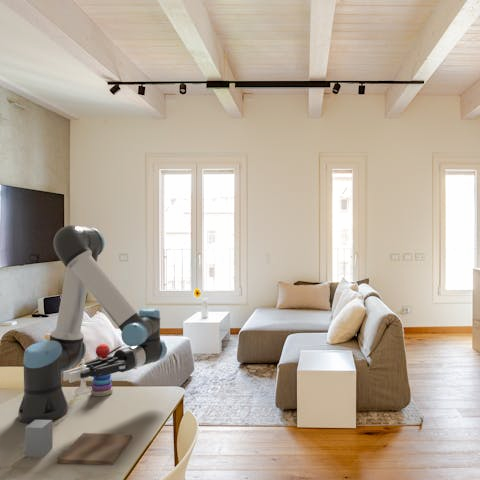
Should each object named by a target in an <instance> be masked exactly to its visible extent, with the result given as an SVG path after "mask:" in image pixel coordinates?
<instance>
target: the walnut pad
mask: <svg viewBox="0 0 480 480" xmlns="http://www.w3.org/2000/svg"><path fill="white" fill-rule="evenodd" d="M132 439H133V434H127V433H125V434H124V433H122V434H121V433H95V432H94V433H91V432H84V433H82V434H81V435H80V436H79V437H78V438H77V439H76V440H75V441H74V442H73V443H72V444H70V446H69V447H68V448H67V449H66V450H64V452H63V453H62V454H61V455H60V456H59V457H58V458H57V464H77V463H84V464H83V465H106V466H107V465H109V466H110V465H111V466H113V465H114V464H115V463H116V462H117V460H118V458H119V457H120V456H121V455H122V453H123V451H124V450H125V449H126V447H127V446H128V444H129V443H130V442H131V440H132Z"/></svg>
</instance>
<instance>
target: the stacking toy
mask: <svg viewBox="0 0 480 480" xmlns="http://www.w3.org/2000/svg"><path fill="white" fill-rule="evenodd" d="M95 354H96V356H97V357H96V358H95V359H97V358H98V357H102V359H104V358H107V357H109V356H108V355H109V354H110V347H109V346H108V345H107V344H105V343H104V344H103V343H102V344H99V345H98V346H97V347H96V349H95ZM111 376H112V374H108V375H105V376H101V377H96V376H94V377H92V378H93V379H92V384H91V386H90V388H91V390H92V391H91V392H90V394H91V395H92V396H94V397H104V396H109V395H111V394H112V393H113V390H114V389H113V383H112V380H113V379H112V377H111Z"/></svg>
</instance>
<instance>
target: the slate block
mask: <svg viewBox="0 0 480 480" xmlns="http://www.w3.org/2000/svg"><path fill="white" fill-rule="evenodd" d="M53 448H54V447H53V420H34V421H33V422H32V423H28V425H26V426H25V427H24V457H25V458H44V457H45V456H46V455H48V453H50V452H51V450H52V449H53Z"/></svg>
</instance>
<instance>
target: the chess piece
mask: <svg viewBox="0 0 480 480" xmlns="http://www.w3.org/2000/svg"><path fill="white" fill-rule="evenodd" d="M85 362H86V361H85V359H84V358H83V359H82V361H81V362H80V364H82V365H80V369H81V370H82V369H85V368H86V365H84V363H85ZM91 391H92V388H91V386H88V385H87V383H86V378H84V379H81V380H80V385H79V387H78V388H76V389H75V390H74V394H75V395H78V396H79V395H87V394H91Z"/></svg>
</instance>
